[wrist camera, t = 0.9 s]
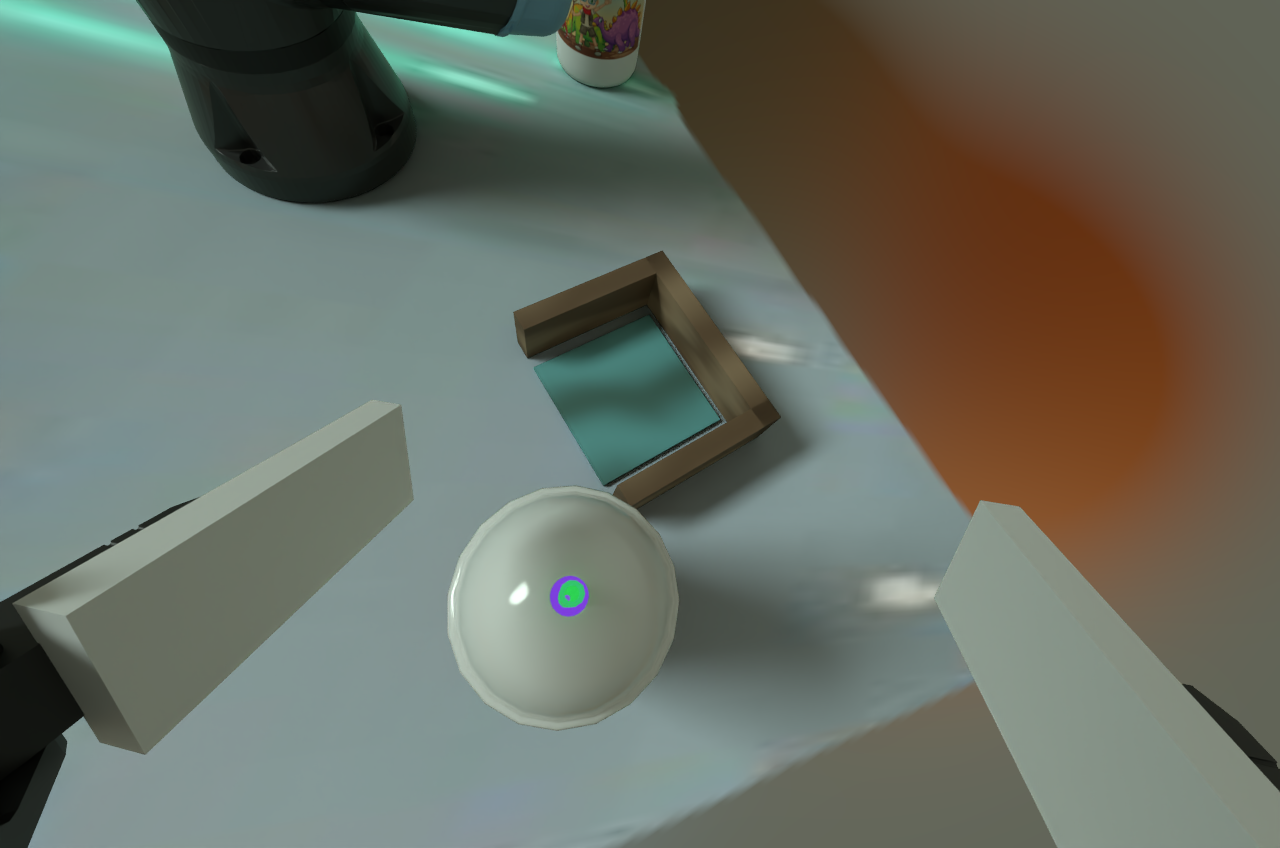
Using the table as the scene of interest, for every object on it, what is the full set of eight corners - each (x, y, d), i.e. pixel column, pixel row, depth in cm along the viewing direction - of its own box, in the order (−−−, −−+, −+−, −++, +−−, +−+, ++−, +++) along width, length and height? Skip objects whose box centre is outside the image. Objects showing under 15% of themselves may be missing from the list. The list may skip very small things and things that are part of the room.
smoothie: (524, 704, 28) (464, 886, 10) (473, 569, 30) (344, 510, 12) (651, 634, 31) (793, 673, 12) (596, 513, 33) (646, 391, 14)
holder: (517, 342, 36) (513, 312, 33) (652, 283, 40) (662, 250, 36) (622, 517, 33) (630, 506, 29) (758, 436, 37) (781, 417, 33)
